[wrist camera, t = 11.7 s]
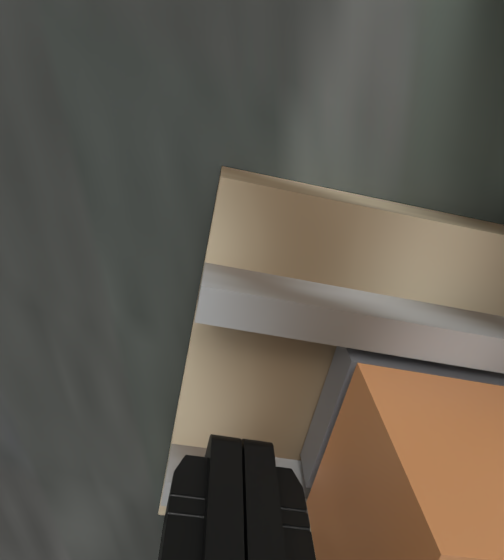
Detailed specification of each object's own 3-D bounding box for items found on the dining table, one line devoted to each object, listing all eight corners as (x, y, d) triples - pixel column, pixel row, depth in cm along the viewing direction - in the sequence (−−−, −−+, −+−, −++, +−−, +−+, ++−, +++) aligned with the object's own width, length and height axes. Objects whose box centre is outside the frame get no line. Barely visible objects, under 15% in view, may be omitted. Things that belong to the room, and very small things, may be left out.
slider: (298, 459, 15) (344, 723, 9) (342, 329, 13) (441, 554, 7) (439, 477, 15) (574, 737, 9) (502, 356, 13) (725, 585, 7)
